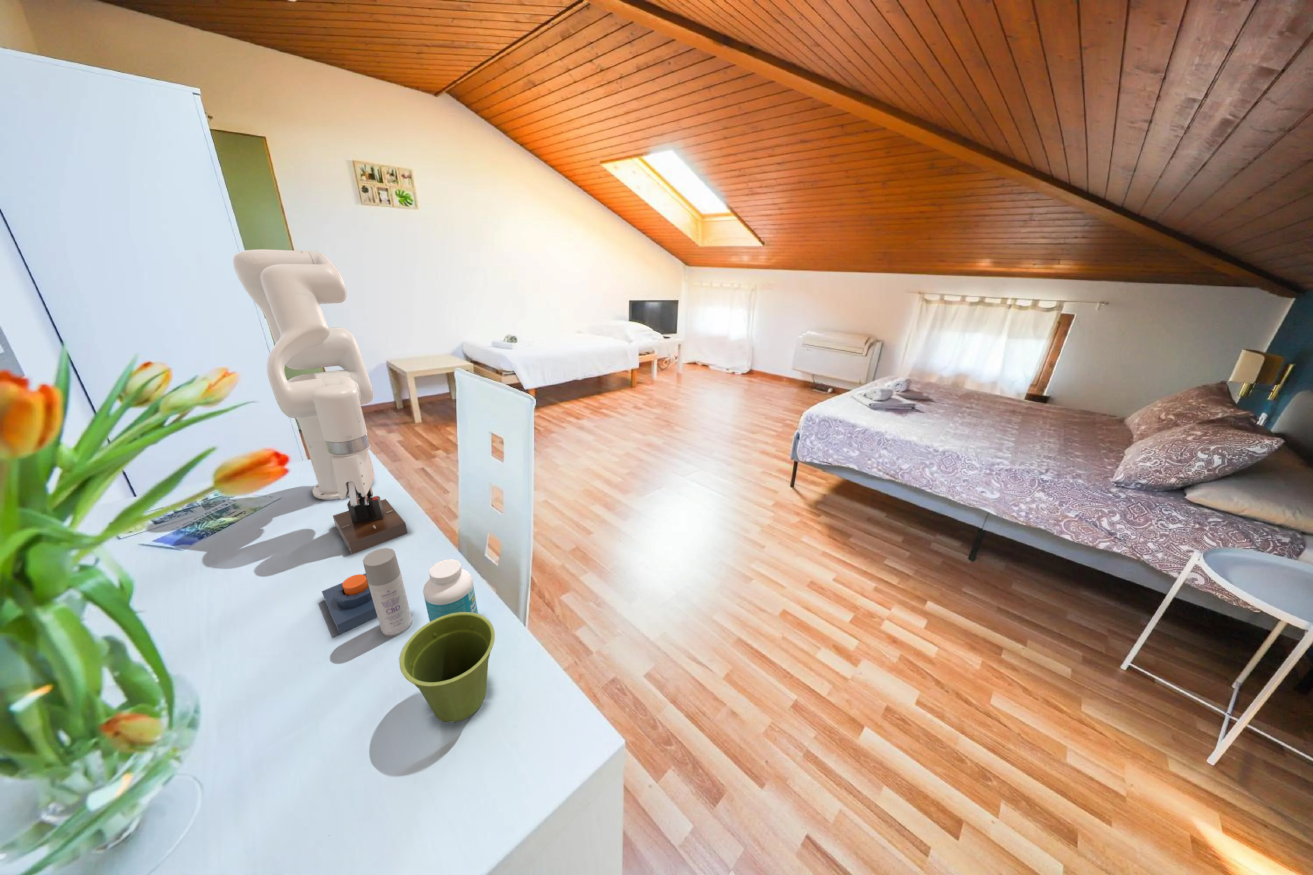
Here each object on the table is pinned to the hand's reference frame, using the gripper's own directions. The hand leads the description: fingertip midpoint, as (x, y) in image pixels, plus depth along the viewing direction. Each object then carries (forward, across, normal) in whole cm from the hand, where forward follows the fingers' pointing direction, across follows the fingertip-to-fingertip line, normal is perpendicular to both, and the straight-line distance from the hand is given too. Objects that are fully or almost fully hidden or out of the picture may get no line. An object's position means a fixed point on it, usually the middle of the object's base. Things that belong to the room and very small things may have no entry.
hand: (367, 515), depth 98 cm
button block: (+4, +25, +3) cm, 26 cm away
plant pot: (+4, +51, +21) cm, 55 cm away
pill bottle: (+4, +37, +20) cm, 42 cm away
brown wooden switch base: (+4, 0, 0) cm, 4 cm away
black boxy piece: (+1, 0, 0) cm, 1 cm away
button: (0, +25, +3) cm, 25 cm away
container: (+4, +33, +10) cm, 35 cm away
